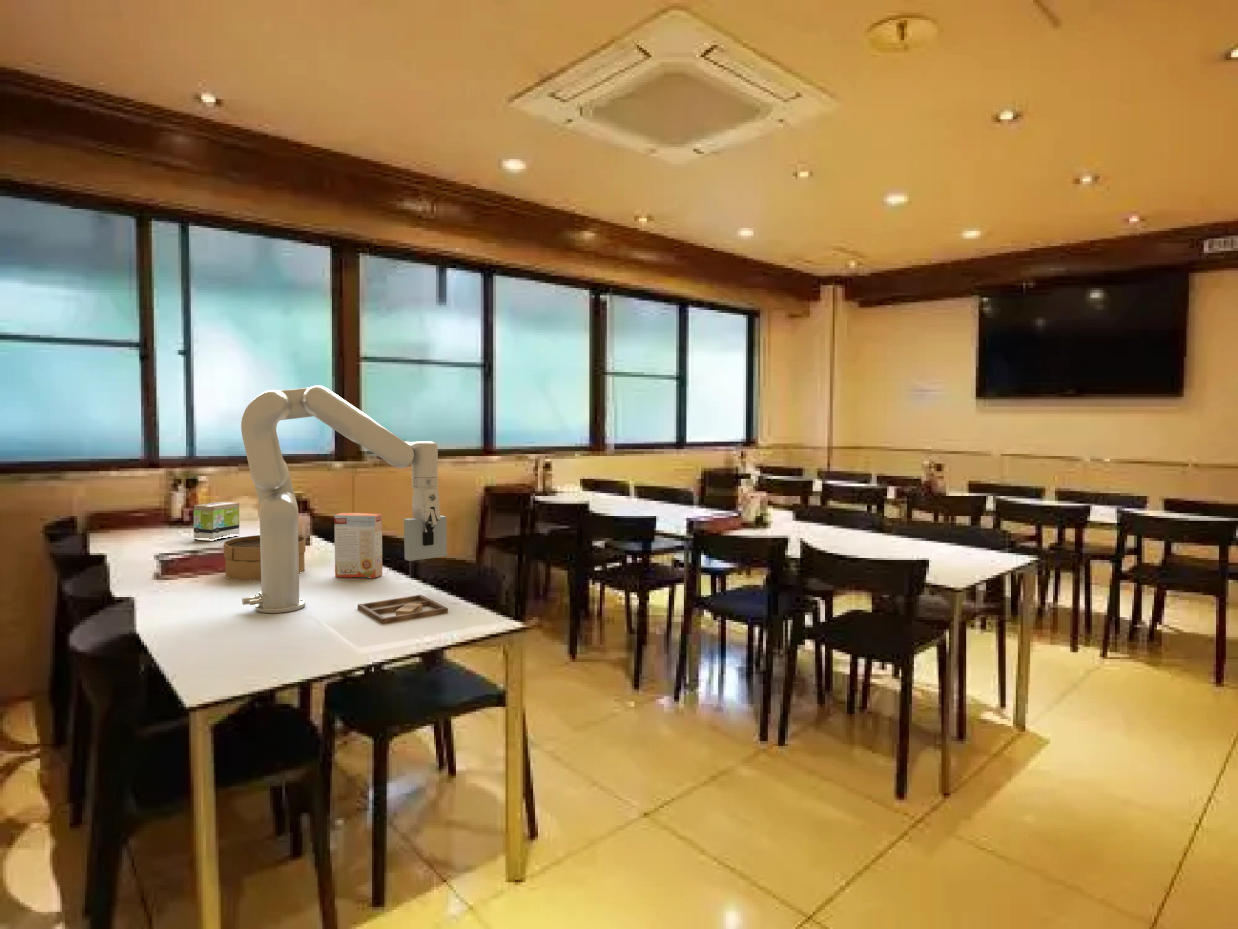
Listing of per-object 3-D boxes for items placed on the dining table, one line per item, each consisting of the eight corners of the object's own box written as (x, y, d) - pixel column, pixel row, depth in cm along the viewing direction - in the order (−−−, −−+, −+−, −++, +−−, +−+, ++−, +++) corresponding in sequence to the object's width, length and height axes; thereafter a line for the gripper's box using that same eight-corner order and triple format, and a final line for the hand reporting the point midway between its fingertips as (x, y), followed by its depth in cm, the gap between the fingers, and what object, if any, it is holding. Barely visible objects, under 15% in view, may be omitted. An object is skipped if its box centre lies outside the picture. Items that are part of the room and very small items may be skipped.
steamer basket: (225, 583, 230) (225, 548, 229) (222, 569, 251) (221, 537, 251) (310, 576, 243) (310, 542, 242) (300, 563, 264) (300, 532, 263)
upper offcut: (410, 618, 191) (410, 611, 191) (395, 617, 192) (395, 610, 192) (422, 610, 199) (422, 603, 199) (408, 609, 200) (407, 603, 200)
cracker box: (383, 575, 246) (382, 513, 244) (375, 579, 240) (374, 515, 238) (343, 573, 247) (342, 511, 245) (334, 577, 241) (333, 514, 239)
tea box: (213, 542, 300) (212, 506, 299) (193, 540, 302) (192, 505, 301) (240, 536, 315) (239, 502, 314) (220, 535, 317) (220, 501, 316)
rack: (382, 628, 186) (382, 619, 185) (357, 613, 199) (357, 604, 199) (447, 617, 197) (447, 608, 197) (420, 603, 210) (420, 594, 210)
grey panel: (408, 561, 214) (408, 520, 213) (404, 559, 216) (404, 519, 216) (446, 556, 222) (446, 516, 221) (442, 554, 224) (441, 515, 223)
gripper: (449, 484, 213) (449, 547, 215) (425, 480, 226) (425, 539, 227) (424, 486, 209) (425, 549, 210) (401, 481, 221) (402, 541, 223)
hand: (425, 543), depth 219 cm, fingers closed on grey panel, 3 cm apart
